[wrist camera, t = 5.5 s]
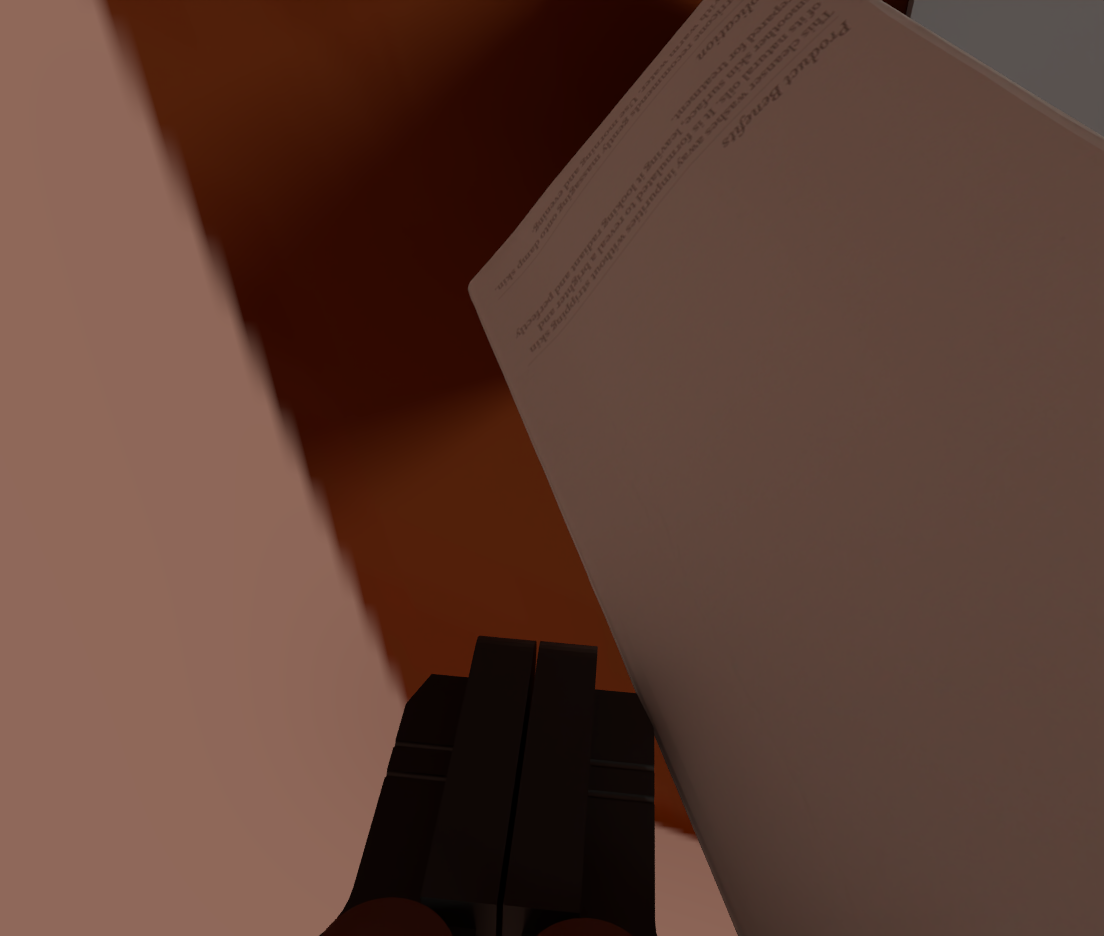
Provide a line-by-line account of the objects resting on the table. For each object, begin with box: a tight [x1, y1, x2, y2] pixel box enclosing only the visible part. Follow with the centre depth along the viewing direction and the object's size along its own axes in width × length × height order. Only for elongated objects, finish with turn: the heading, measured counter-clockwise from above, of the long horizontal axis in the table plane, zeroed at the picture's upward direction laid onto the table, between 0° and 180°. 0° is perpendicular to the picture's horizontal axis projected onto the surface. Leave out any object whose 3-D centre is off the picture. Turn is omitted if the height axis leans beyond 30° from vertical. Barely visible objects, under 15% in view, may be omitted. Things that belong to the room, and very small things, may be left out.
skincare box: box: [468, 0, 1104, 936], centre depth 14 cm, size 8×6×15 cm
